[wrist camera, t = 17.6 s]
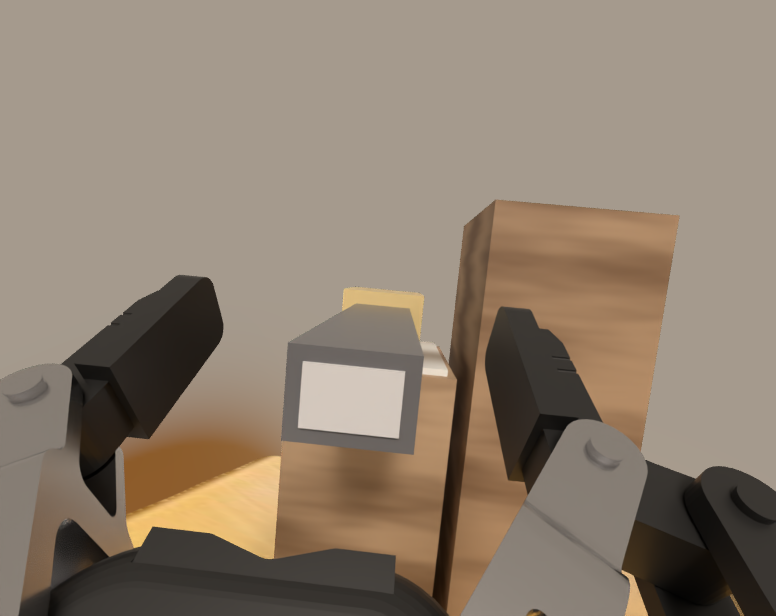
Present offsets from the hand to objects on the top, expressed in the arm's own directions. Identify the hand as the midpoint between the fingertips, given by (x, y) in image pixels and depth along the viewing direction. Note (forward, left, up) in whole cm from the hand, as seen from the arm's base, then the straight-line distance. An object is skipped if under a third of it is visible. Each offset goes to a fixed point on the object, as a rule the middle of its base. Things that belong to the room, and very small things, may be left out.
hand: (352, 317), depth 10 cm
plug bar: (-7, -8, -4) cm, 12 cm away
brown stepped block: (-14, -8, -26) cm, 31 cm away
